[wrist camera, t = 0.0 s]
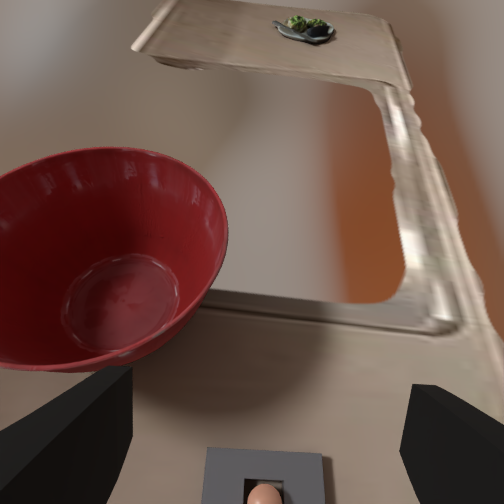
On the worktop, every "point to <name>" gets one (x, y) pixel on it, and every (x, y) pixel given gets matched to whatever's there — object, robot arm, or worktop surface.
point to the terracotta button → (264, 495)
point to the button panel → (262, 475)
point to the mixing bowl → (103, 256)
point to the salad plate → (305, 29)
